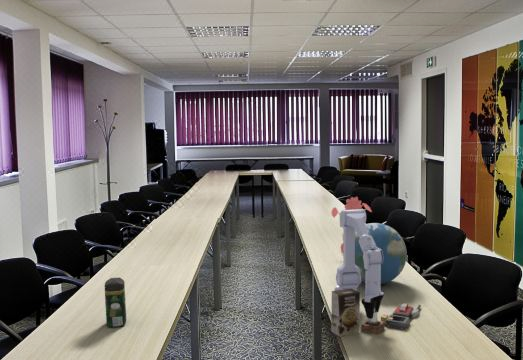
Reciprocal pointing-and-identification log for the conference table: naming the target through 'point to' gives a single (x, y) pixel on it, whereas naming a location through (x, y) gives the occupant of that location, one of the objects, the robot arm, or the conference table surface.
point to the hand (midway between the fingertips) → (372, 314)
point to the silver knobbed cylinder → (373, 319)
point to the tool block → (397, 322)
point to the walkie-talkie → (406, 311)
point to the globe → (390, 247)
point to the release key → (384, 317)
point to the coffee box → (345, 312)
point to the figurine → (351, 208)
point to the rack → (372, 327)
